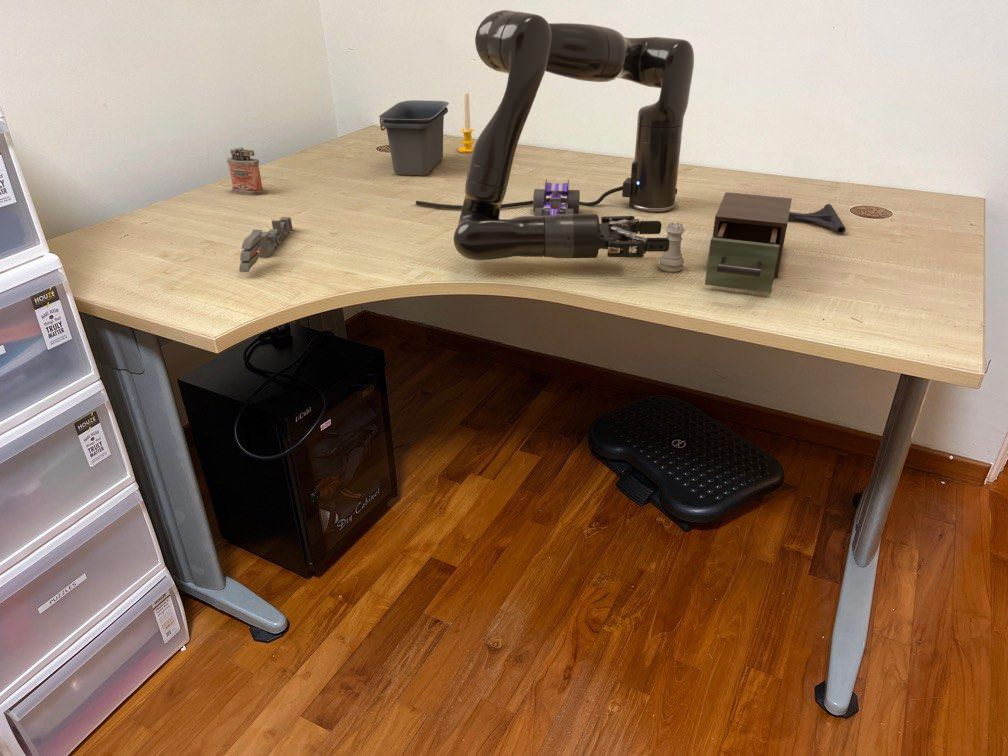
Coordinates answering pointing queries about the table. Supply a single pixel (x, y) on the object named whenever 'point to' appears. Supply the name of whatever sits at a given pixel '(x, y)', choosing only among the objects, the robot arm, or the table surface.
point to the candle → (466, 126)
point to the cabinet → (755, 215)
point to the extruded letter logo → (263, 242)
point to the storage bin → (415, 135)
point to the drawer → (743, 257)
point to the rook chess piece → (673, 249)
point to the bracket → (820, 218)
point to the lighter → (245, 172)
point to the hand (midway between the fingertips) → (664, 235)
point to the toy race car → (555, 200)
